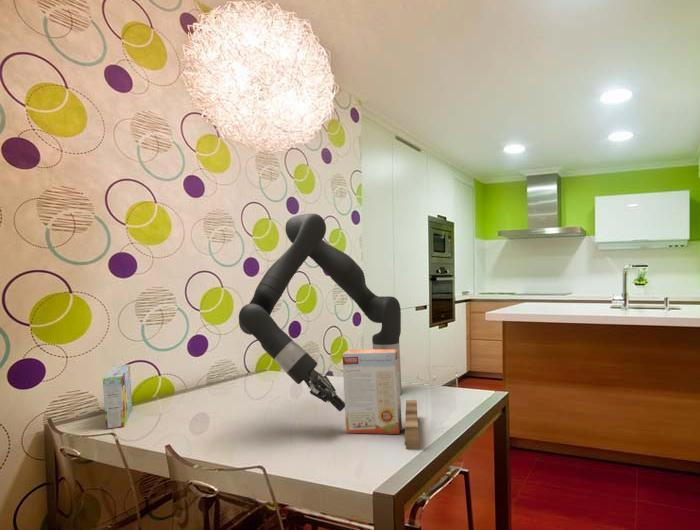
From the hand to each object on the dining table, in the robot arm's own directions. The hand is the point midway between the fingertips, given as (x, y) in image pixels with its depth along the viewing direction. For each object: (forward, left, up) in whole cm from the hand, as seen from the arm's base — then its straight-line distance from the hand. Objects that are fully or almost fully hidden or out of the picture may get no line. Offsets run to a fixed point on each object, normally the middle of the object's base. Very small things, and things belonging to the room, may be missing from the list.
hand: (343, 408), depth 123 cm
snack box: (-14, -72, -7) cm, 74 cm away
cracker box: (-1, +8, -6) cm, 10 cm away
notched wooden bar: (0, +18, -6) cm, 19 cm away
